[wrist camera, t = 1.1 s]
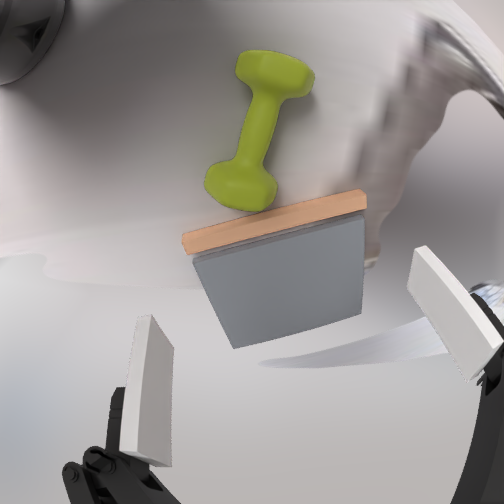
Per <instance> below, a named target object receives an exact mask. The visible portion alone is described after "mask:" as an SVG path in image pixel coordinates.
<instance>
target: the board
mask: <svg viewBox="0 0 504 504" xmlns="http://www.w3.org/2000/svg"><path fill="white" fill-rule="evenodd" d="M364 239H365V230H364V217H363V216H362V215H361V214H360V215H357V216H353V217H349V218H345V219H341V220H337V221H333V222H329V223H325V224H321V225H318V226H314V227H310V228H306V229H302V230H298V231H295V232H291V233H287V234H283V235H279V236H275V237H272V238H268V239H264V240H260V241H257V242H253V243H249V244H245V245H241V246H238V247H234V248H230V249H226V250H223V251H219V252H215V253H212V254H208V255H204V256H200V257H197V258H193V265H194V267H195V270H196V272H197V274H198V276H199V278H200V281H201V283H202V285H203V287H204V289H205V291H206V294H207V296H208V298H209V300H210V302H211V304H212V306H213V308H214V311H215V313H216V315H217V316H218V319H219V321H220V323H221V325H222V327H223V329H224V331H225V333H226V335H227V337H228V339H229V341H230V343H231V345H232V347H233V349H235V348H240V347H244V346H249V345H253V344H257V343H262V342H266V341H270V340H273V339H277V338H281V337H285V336H289V335H292V334H296V333H300V332H303V331H307V330H311V329H314V328H317V327H321V326H324V325H327V324H331V323H334V322H337V321H340V320H343V319H346V318H350V317H352V316H356V315H358V314H361V309H362V296H363V278H364Z"/></svg>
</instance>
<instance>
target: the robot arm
mask: <svg viewBox="0 0 504 504" xmlns="http://www.w3.org/2000/svg"><path fill="white" fill-rule="evenodd" d="M64 8H65V0H0V85H2V84H7V83H11V82H14V81H16V80H18V79H20V78H21V77H23V76H24V75H25V74H27V73H28V72H29V71H30V70H31V69H32V68H33V67H34V66H35V65H36V64H37V63H38V62H39V61H40V59H41V58H42V57H43V56H44V54H45V53H46V51H47V50H48V48H49V47H50V45H51V43H52V42H53V40H54V38H55V36H56V34H57V32H58V29H59V27H60V24H61V21H62V18H63V14H64ZM407 290H408V291H409V292H410V294H411V295H412V297H413V298H414V299H415V301H416V302H417V304H418V305H419V307H420V308H421V310H422V311H423V313H424V314H425V316H426V317H427V318H428V320H429V322H430V323H431V325H432V326H433V328H434V329H435V331H436V332H437V334H438V335H439V337H440V339H441V340H442V342H443V343H444V345H445V347H446V348H447V350H448V352H449V353H450V355H451V357H452V358H453V359H454V362H455V363H456V365H457V367H458V369H459V370H460V372H461V374H462V376H463V377H464V379H465V381H466V382H469V381H470V380H472V379H473V378H475V377H476V376H478V375H479V373H480V372H481V371H482V370H483V369H484V371H485V373H484V374H483V375H482V376H481V378H480V379H479V380H478V381H477V385H479V384H480V383H481V382H482V381H483V382H482V384H481V386H482V390H481V397H480V403H479V409H478V415H477V420H476V425H475V429H474V434H473V438H472V442H471V446H470V449H469V453H468V456H467V460H466V463H465V466H464V469H463V472H462V475H461V478H460V481H459V483H458V486H457V489H456V491H455V494H454V496H453V499H452V501H451V503H450V504H504V326H503V325H502V323H501V322H500V320H499V319H498V318H497V316H496V315H495V314H493V311H492V310H491V309H490V308H489V307H488V305H487V304H486V302H485V301H484V300H483V299H482V298H481V297H480V296H478V295H477V294H475V293H472V294H470V295H469V293H468V292H467V291H466V290H465V289H464V287H463V286H462V285H461V284H460V283H459V281H458V280H457V279H456V278H455V277H454V276H453V274H452V273H451V272H450V271H449V270H448V269H447V268H446V266H445V265H444V264H443V263H442V262H441V261H440V260H439V259H438V258H437V257H436V256H435V255H434V254H433V253H432V251H431V250H430V249H429V248H428V247H427V246H426V245H425V246H422V247H419V248H415V249H414V255H413V260H412V265H411V270H410V275H409V279H408V284H407ZM173 355H174V347H173V346H172V344H171V343H170V342H169V340H168V339H167V337H166V336H165V334H164V333H163V331H162V330H161V329H160V327H159V325H158V324H157V322H156V321H155V319H154V317H153V316H152V315H147V316H141V317H138V319H137V323H136V329H135V334H134V339H133V344H132V350H131V356H130V361H129V368H128V374H127V381H126V387H117V388H116V390H115V392H114V394H113V396H112V398H111V405H110V409H111V410H110V412H109V420H108V429H107V438H106V448H105V449H103V448H101V447H98V446H92V447H90V448H88V449H87V450H86V451H85V453H84V456H83V464H82V465H80V464H78V463H75V462H68V463H67V464H65V466H64V467H63V471H62V476H63V481H64V484H65V487H66V490H67V494H68V497H69V499H70V502H71V504H181V503H180V502H179V501H178V500H177V499H176V498H175V497H174V496H173V495H172V494H171V493H170V492H169V491H168V489H167V488H166V487H165V486H164V485H163V484H162V483H161V482H160V481H159V479H158V478H157V477H156V476H155V475H154V474H153V472H152V471H150V470H149V464H150V465H153V466H155V467H172V455H171V408H172V407H171V406H172V376H173V375H172V373H173Z"/></svg>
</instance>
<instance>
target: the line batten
mask: <svg viewBox="0 0 504 504" xmlns="http://www.w3.org/2000/svg"><path fill="white" fill-rule="evenodd" d="M366 208H367V198H366V194H365V193H364V192H363V191H362V190H360V189H356V190H352V191H347V192H343V193H339V194H334V195H330V196H326V197H322V198H317V199H313V200H309V201H305V202H301V203H297V204H293V205H289V206H285V207H281V208H277V209H273V210H269V211H265V212H262V213H258V214H254V215H250V216H246V217H243V218H239V219H235V220H232V221H228V222H224V223H221V224H217V225H213V226H210V227H206V228H203V229H199V230H196V231H192V232H189V233H185V234H183V237H182V245H183V247H184V249H185V251H186V254H187V255H190V254H193V253H197V252H201V251H204V250H208V249H212V248H215V247H219V246H223V245H227V244H230V243H234V242H238V241H242V240H245V239H249V238H253V237H257V236H260V235H264V234H268V233H272V232H276V231H279V230H283V229H287V228H291V227H295V226H299V225H302V224H306V223H310V222H314V221H318V220H322V219H326V218H330V217H334V216H338V215H342V214H346V213H350V212H354V211H358V210H362V209H366Z"/></svg>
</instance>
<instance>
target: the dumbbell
mask: <svg viewBox="0 0 504 504" xmlns="http://www.w3.org/2000/svg"><path fill="white" fill-rule="evenodd" d="M235 74H236V76H237V77H238V78H239V79H240V80H241V81H242V82H244V83H245V84H247V85H248V86H249V87H250V88H251V90H252V92H253V98H252V101H251V104H250V106H249V109H248V111H247V114H246V117H245V120H244V123H243V126H242V130H241V134H240V138H239V143H238V149H237V153H236V156H235V157H234V158H233V159H232V160H228V161H222V162H219V163H216V164H214V165H212V166H211V167H210V168H209V169H208V171H207V173H206V177H205V181H204V187H205V190H206V191H207V192H208V193H209V194H210V195H211V196H212V197H213V198H214V199H215V200H216V201H218V202H219V203H220V204H222V205H224V206H226V207H229V208H233V209H238V210H243V211H250V212H258V211H262V210H264V209H265V208H267V207H268V206H269V205H270V204H271V203H272V202H273V201H274V199H275V196H276V193H277V189H278V184H277V181H276V180H275V178H274V177H273V176H272V175H271V174H269V173H268V172H267V171H266V170H265V169H264V167H263V160H264V157H265V155H266V153H267V150H268V148H269V145H270V142H271V139H272V136H273V133H274V130H275V126H276V123H277V119H278V114H279V109H280V106H281V104H282V103H283V101H285V100H286V99H289V98H297V97H303V96H306V95H308V94H309V93H310V91H311V89H312V87H313V84H314V81H315V75H314V73H313V71H312V70H311V69H310V68H309V67H308V66H307V65H306V64H305V63H304V62H302V61H300V60H298V59H296V58H294V57H291V56H288V55H285V54H282V53H279V52H274V51H269V50H248V51H244V52H242V53H241V54H240V55H239V57H238V60H237V63H236V66H235Z"/></svg>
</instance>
